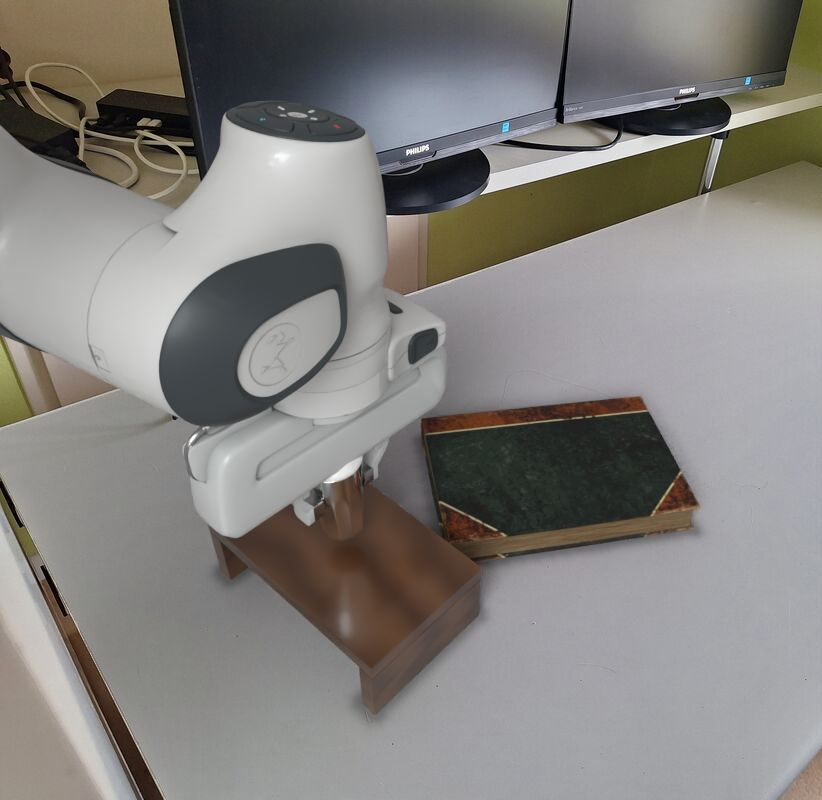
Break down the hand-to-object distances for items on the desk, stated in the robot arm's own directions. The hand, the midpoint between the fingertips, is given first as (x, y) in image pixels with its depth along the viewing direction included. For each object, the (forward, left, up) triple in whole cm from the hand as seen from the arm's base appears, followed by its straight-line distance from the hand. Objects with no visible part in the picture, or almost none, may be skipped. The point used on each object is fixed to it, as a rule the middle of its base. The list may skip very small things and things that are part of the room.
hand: (338, 496), depth 59 cm
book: (+23, -5, -13) cm, 27 cm away
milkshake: (0, 0, -4) cm, 4 cm away
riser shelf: (0, 0, -13) cm, 13 cm away
